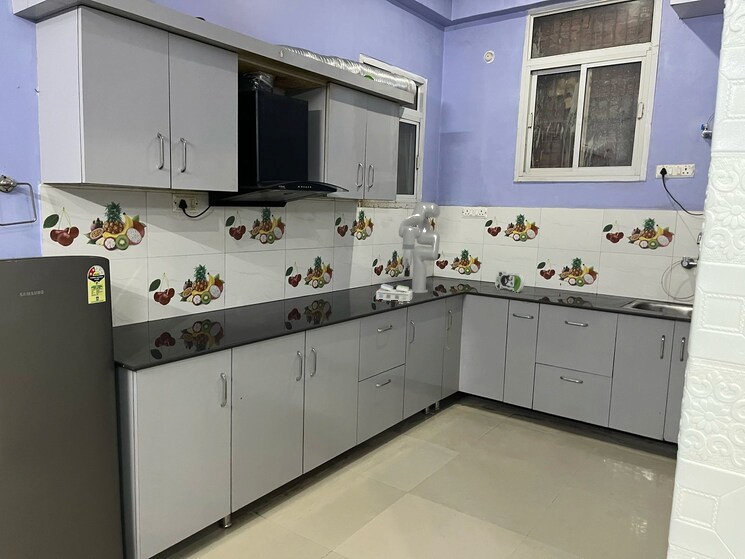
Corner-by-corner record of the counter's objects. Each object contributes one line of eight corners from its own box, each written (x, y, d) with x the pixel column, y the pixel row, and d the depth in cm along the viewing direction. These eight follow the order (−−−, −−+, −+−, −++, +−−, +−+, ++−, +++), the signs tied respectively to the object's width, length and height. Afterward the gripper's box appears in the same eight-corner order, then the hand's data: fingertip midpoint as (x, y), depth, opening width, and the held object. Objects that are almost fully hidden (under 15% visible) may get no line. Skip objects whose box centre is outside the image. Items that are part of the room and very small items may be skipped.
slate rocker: (382, 286, 354) (383, 283, 354) (392, 289, 353) (393, 286, 353) (380, 287, 348) (381, 284, 348) (391, 291, 347) (392, 288, 347)
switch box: (379, 296, 359) (380, 287, 358) (412, 298, 355) (412, 289, 354) (375, 299, 346) (376, 290, 345) (409, 302, 342) (409, 292, 341)
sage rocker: (397, 288, 352) (398, 284, 352) (408, 290, 351) (409, 287, 351) (396, 289, 346) (396, 286, 346) (407, 291, 345) (407, 288, 345)
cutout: (495, 270, 413) (522, 272, 393) (497, 270, 415) (524, 272, 394) (494, 290, 414) (521, 293, 394) (497, 290, 416) (524, 293, 396)
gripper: (404, 246, 353) (402, 274, 355) (400, 247, 338) (399, 277, 341) (415, 246, 351) (414, 275, 354) (413, 248, 337) (411, 278, 339)
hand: (406, 276), depth 347 cm, fingers closed
